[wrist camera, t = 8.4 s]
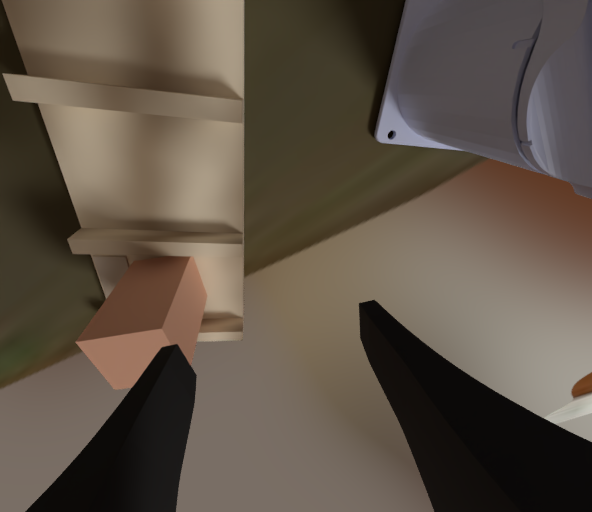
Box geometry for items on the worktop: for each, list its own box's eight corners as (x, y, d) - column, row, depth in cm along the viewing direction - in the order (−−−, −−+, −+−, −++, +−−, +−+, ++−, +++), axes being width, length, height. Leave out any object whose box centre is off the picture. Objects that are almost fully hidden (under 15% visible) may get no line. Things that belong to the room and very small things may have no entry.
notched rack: (244, -128, 11) (241, -180, 9) (243, 318, 24) (242, 340, 22) (-49, -201, 9) (-138, -286, 7) (121, 319, 22) (107, 343, 20)
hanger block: (191, 252, 19) (162, 328, 13) (207, 295, 21) (188, 377, 15) (133, 261, 18) (75, 342, 12) (155, 303, 21) (114, 390, 15)
